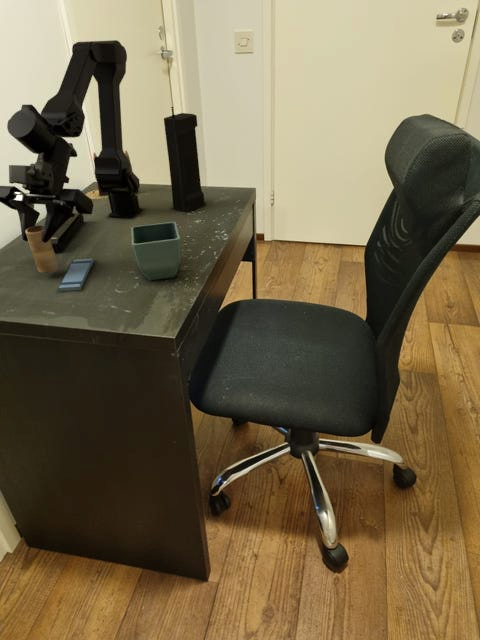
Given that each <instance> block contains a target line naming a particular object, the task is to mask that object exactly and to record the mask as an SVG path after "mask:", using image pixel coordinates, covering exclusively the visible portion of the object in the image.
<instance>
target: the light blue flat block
mask: <svg viewBox="0 0 480 640" xmlns="http://www.w3.org/2000/svg"><path fill="white" fill-rule="evenodd" d="M93 264H94V259H93V258H79V259H73V261H71V264H70V266H69V268H68V270H67V271H66V273H65V275H64V278H63V279H62V280H61V282H60V283H59V287H58V290H59V292H70V291H72V292H73V291H81V290H82V288H83V285H84V284H85V282H86V280H87V276H88V275H89V272H90V270H91V268H92V266H93Z"/></svg>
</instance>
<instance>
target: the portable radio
mask: <svg viewBox="0 0 480 640" xmlns="http://www.w3.org/2000/svg"><path fill="white" fill-rule="evenodd" d="M170 108H171V113H172V115H169V116H166V117H164V118H163V125H164V132H165V133H164V134H165V141H166V149H167V157H168V167H169V177H170V178H169V179H170V186H171V196H172V197H171V199H172V207H173V209H174V210H176V211H177V210H178V211H181V212H193V211H194V210H197V209H198V208H201V207H203V206H204V205H205V195H204V192H203V190H202V185H201V184H202V183H201V174H200V164H199V163H200V162H199V153H198V144H197V143H198V141H197V134H196V133H197V132H196V128H197V127H198V116H197V115H196V114H194V113H188V112H187V113H185V112H181V113H177V114H175V113H174V106H171V107H170Z"/></svg>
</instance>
